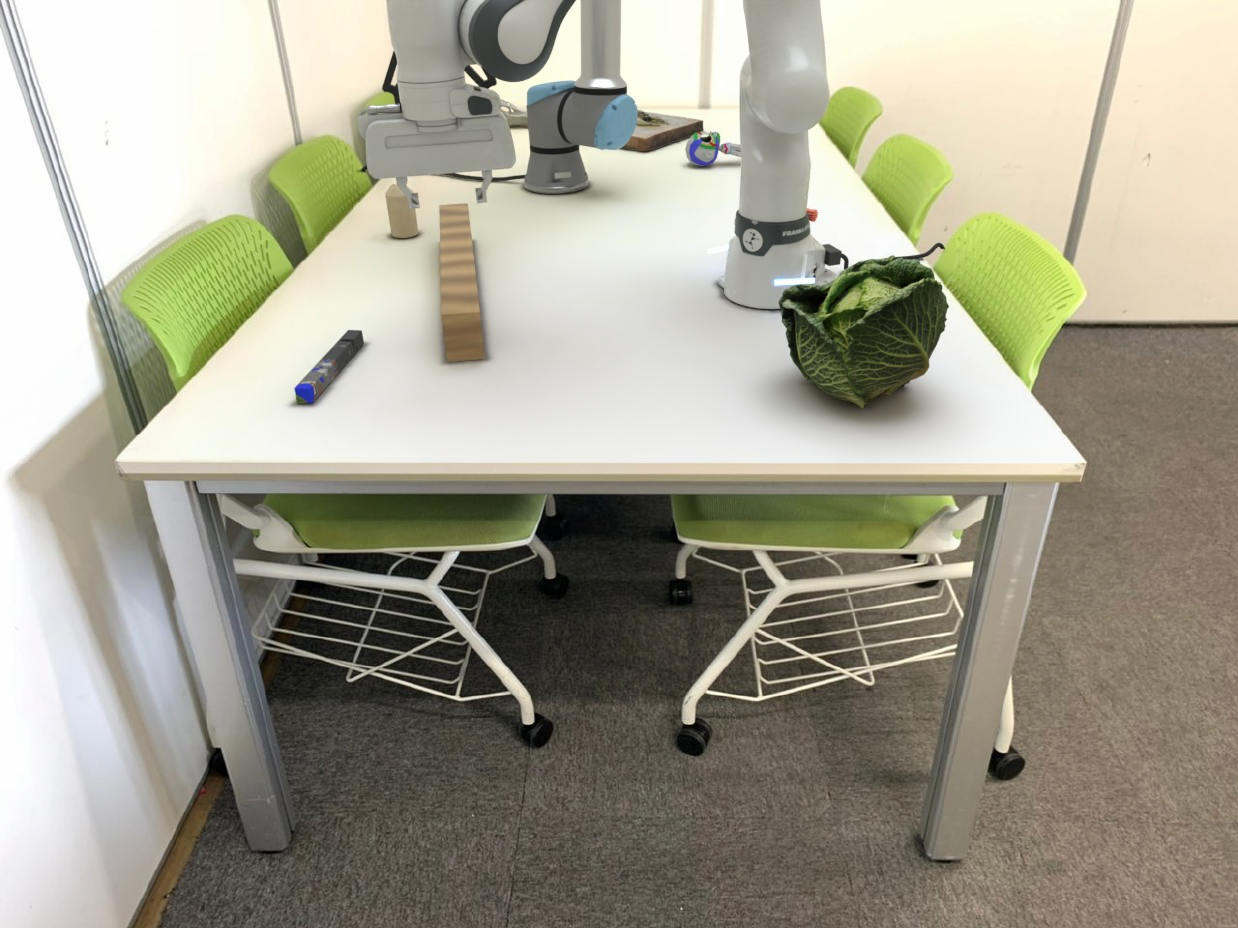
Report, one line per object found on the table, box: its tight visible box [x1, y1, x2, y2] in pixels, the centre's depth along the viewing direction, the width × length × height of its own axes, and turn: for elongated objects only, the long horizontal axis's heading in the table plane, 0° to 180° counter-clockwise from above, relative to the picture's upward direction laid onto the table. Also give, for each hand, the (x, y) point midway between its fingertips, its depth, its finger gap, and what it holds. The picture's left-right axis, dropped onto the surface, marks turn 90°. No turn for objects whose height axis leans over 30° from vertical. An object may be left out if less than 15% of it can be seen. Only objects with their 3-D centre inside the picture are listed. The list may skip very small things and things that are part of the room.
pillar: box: [294, 329, 365, 404], centre depth 131 cm, size 2×2×20 cm
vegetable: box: [779, 254, 950, 410], centre depth 120 cm, size 20×19×20 cm
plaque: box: [621, 109, 705, 152], centre depth 257 cm, size 30×7×30 cm
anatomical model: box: [500, 98, 528, 127], centre depth 271 cm, size 15×9×25 cm
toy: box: [684, 130, 741, 167], centre depth 229 cm, size 10×8×30 cm
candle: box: [384, 183, 419, 239], centre depth 183 cm, size 6×6×10 cm
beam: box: [438, 202, 486, 363], centre depth 156 cm, size 56×6×8 cm, turn 10°
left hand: (445, 130), depth 165 cm, fingers open, 13 cm apart
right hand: (448, 205), depth 127 cm, fingers open, 8 cm apart
